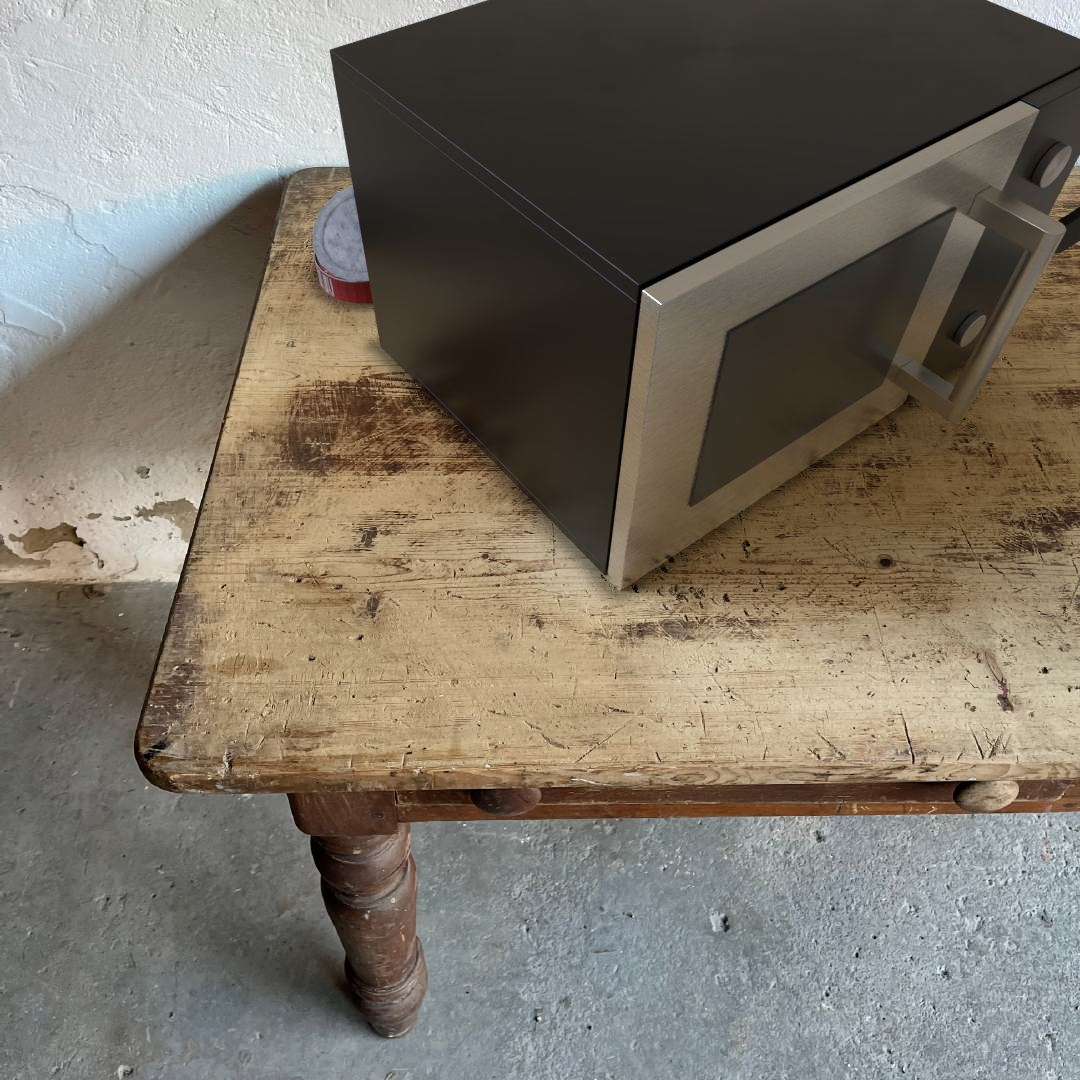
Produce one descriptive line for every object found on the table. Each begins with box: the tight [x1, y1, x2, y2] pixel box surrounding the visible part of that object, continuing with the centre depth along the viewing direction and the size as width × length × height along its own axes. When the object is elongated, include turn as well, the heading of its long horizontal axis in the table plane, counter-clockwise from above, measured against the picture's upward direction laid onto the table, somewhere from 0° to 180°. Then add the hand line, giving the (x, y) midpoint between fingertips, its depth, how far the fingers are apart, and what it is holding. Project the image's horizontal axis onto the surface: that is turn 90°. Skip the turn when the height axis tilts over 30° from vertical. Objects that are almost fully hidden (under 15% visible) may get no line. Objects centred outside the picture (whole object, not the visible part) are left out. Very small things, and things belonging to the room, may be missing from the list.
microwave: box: [329, 0, 1080, 576], centre depth 76 cm, size 36×46×28 cm
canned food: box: [312, 184, 373, 304], centre depth 91 cm, size 11×10×10 cm
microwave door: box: [606, 101, 1066, 592], centre depth 64 cm, size 8×35×28 cm, turn 127°
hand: (1070, 279), depth 66 cm, fingers open, 8 cm apart
